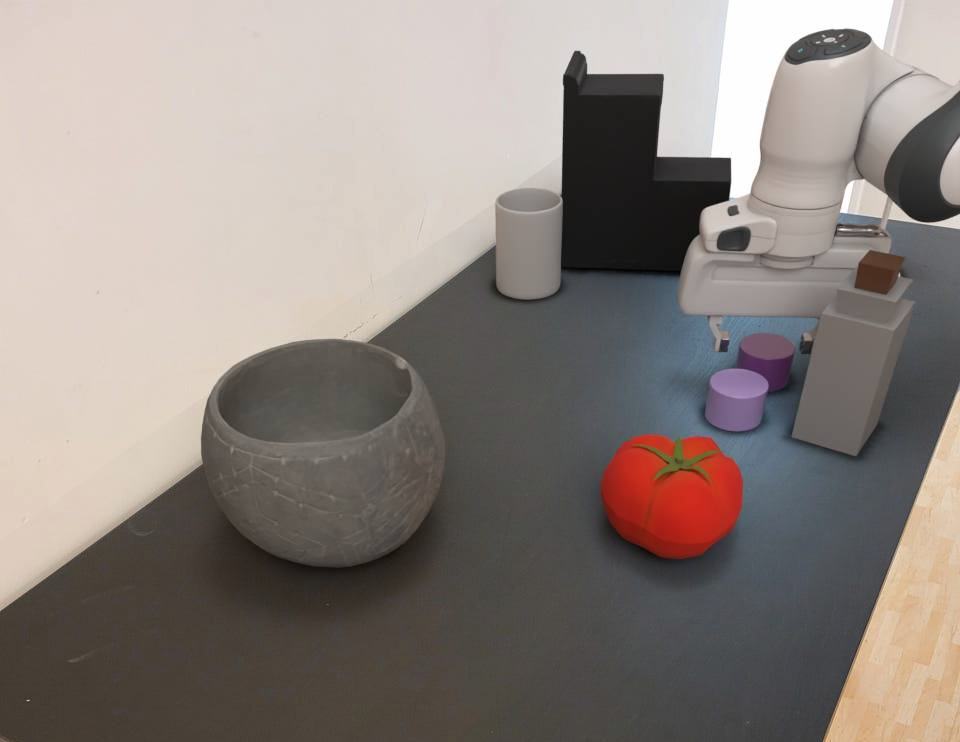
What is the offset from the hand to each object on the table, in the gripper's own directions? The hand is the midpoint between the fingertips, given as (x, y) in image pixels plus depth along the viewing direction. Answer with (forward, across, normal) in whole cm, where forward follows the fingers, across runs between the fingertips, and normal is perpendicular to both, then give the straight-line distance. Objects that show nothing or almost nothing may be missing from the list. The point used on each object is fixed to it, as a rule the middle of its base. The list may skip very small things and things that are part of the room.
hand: (762, 351), depth 103 cm
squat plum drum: (+3, 0, 0) cm, 3 cm away
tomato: (+4, +12, +28) cm, 31 cm away
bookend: (+3, +11, -32) cm, 34 cm away
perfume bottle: (+3, -7, +11) cm, 13 cm away
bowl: (+4, +42, +29) cm, 52 cm away
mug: (+4, +27, -25) cm, 37 cm away
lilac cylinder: (+3, +4, +8) cm, 9 cm away
